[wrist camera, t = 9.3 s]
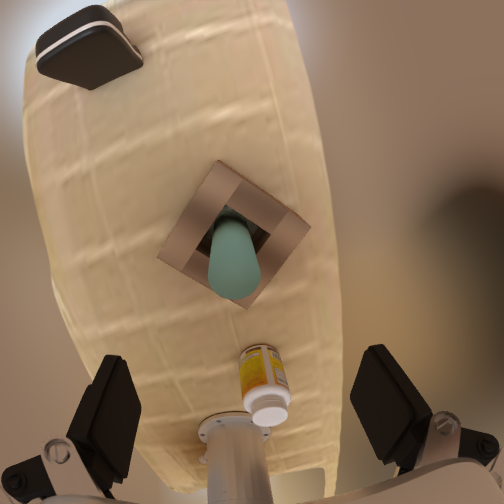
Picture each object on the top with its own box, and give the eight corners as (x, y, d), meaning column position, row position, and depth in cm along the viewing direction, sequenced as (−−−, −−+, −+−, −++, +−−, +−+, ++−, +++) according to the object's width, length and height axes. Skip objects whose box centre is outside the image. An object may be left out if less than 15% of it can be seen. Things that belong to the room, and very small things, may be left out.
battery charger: (139, 38, 21) (100, -9, 10) (146, 65, 22) (105, 25, 12) (83, 65, 21) (25, 38, 10) (88, 93, 22) (27, 73, 12)
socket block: (243, 286, 32) (247, 309, 27) (166, 240, 29) (156, 257, 24) (297, 214, 29) (311, 226, 25) (218, 159, 27) (217, 161, 22)
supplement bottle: (234, 369, 36) (238, 429, 27) (244, 339, 35) (252, 400, 25) (272, 374, 37) (285, 431, 28) (285, 345, 36) (303, 403, 26)
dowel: (225, 247, 30) (226, 307, 19) (208, 221, 29) (197, 268, 18) (252, 231, 30) (270, 283, 18) (236, 204, 28) (243, 241, 17)
